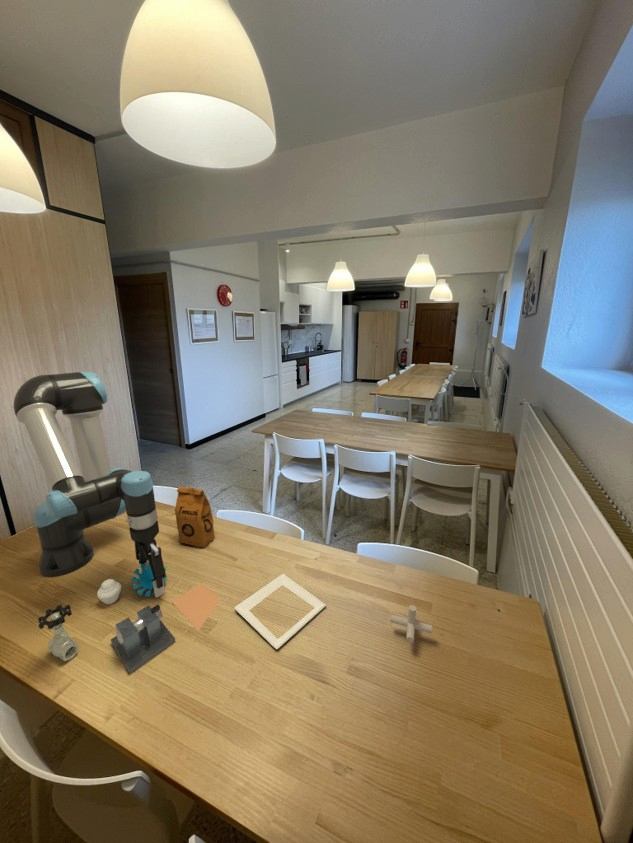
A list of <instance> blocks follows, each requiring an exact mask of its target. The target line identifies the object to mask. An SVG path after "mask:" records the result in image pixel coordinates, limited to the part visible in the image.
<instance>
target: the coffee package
mask: <svg viewBox="0 0 633 843" xmlns="http://www.w3.org/2000/svg"><path fill="white" fill-rule="evenodd" d="M176 492H177V496H176V497H177V498H176V501H175V502H176V503H175V508H174V514H175V521H176V527H177V533H178V543H181V544H185V545H190V546H193V547H199V548H206V547H207V546H208V545H209V544H210V543H212V542H213V541H214V539H215V528H214V518H213V513H212V509H211V508H212V507H211V504H210V503H209V502H210V501H209V500H208V498H207V495H206V494H205V492H204V490H202V489H198V488H194V487H190V486H189V487H188V486H187V487H186V486H178V488H177V490H176Z"/></svg>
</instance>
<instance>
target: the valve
mask: <svg viewBox="0 0 633 843" xmlns="http://www.w3.org/2000/svg"><path fill="white" fill-rule="evenodd" d="M72 614H73V613H72V608H71V604H67V605H65V606H64V607H63V605H62V604H58V605H56V607H55V608H54V609H51V608H49V609H46V610H45V615H41V616H39V617H38V618H37V622H38V629H40V630H43V629H44V628H45V626H47V630H53V633H54V635H53V636H52V638H51V639H50V640H49V641H48V643H47V648H48V651H49V652H51V653H52V654H53V656H54V657H56V658H59V659H61V660H62V661H64V662H67V661H68V660H72V659H73V658H74V657H75V656H76V654H78V652H79V650H80V648H79V644H78V642H76V641H74V639H73V638H72V637H70V636H69V632H68V630H67V629H65V628H64V623H65V622H66V618H65V617H66V616H68V617H71V616H72ZM48 618H50V620H48Z"/></svg>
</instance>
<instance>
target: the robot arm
mask: <svg viewBox="0 0 633 843" xmlns="http://www.w3.org/2000/svg"><path fill="white" fill-rule="evenodd" d="M107 402H108V393H107V389H106V387H105V385H104V383H103V380H102V379H101V378H100V376H99V375H98V374H96V373H94V372H92V371H76V372H68V373H67V372H65V373H55V374H52V373H51V374H41V375H36V376H33V377H31V378H29V379H27V380H26V381H25V382H24V383H23V384H21V386H20V387H19V389H18V390H17V392H16V393H15V396H14V400H13V412H14V414H15V417H16V420H17V421H18V422H20V423H21V424H23V425H24V427H25V429H26V432H27V434H28V436H29V438H30V441H31V443H32V446H33V448H34V450H35V453H36V455H37V457H38V460H39V462H40V464H41V467H42V470H43V472H44V473H45V476H46V478H47V481H48V483H49V486H50V488H51V490H52V491H50V492H47V493H46V495H45V499H46V501H44V502H42V503H41V504H40V505H39V506H37V507H36V508H35V510H34V512H33V519H34V523H33V524H34V526H35V527H36V532H37V536H38V539H39V544H40V547H41V553H40V554H41V555H40V560H39V563H38V564H39V565H38V567H39V571H40V573H41V575H42V576H44V577H47V578H55V577H56V578H57V577H61V576H65V575H69V574H71V573H73V572H76V571H78V570H79V569H82V568H83V567H85V566H86V565H87V564H89V562H90V561H92V560H93V557H94V555H95V552H94V549H93V546H92V545H91V543H90V542H89V540H88V539H87V537H85V535H84V530H86V529H88V528H91V527H94V526H97V525H99V524H101V523H104V522H107V521H109V520H113V519H115V518H116V517H119V516H121V515H124V514H125V512H126V517H127V518H126V519H125V522H127V523H128V527H129V528H128V529H129V535H130V539H131V540H132V541H133V543H134V550H135V559H136V561H138V564H139V567H140V568H139V569H140V572H141V573H142V568H141V564H146V566H145V568H144V569H145V570H147V569H148V566H149V565H150V568H151V571H152V575H153V579H152V580H151V581H152V582H153V587H154V588H153V592H154V593H155V594H154V597H155V598H156V599H157V598H158V597H160V596H162V595H164V594H165V593H166V590H165V586H164V585H165V583H164V582H165V581H163V578H165V577H166V576H167V573H166V571H165V569H164V567H165V565H164V561H163V557H162V548H161V547H160V546H158V547H157V540H156V539H155V538H156V537H157V536H158V535H159V533H160V527H159V521H158V518H159V517H158V512H157V506H156V500H155V499H156V498H155V492H154V483H153V479H152V476H151V473H150V472H148V471H146V470H144V471H143V470H135V471H131V470H130V469H127V468H124V467H116V468H113V469H111V464H110V459H109V455H108V450H107V446H106V441H105V435H104V431H103V426H102V421H101V417H100V414H101V413H102V411H104V408H103V405H105V404H107ZM58 411H61V414H62V416H64V417H66V418H68V419H69V422H70V426H71V430H72V431H71V432H72V435H73V440H74V444H75V448H76V453H77V457H78V461H79V464H78V462H77V461H76V458H75V456H74V454H73V452H72V450H71V447H70V445H69V443H68V441H67V438H66V437H65V434H64V432H63V430H62V428H61V425H60V424H59V422H58V419H57V417H56V415H57V413H58ZM79 465H80V466H79ZM148 564H149V565H148Z"/></svg>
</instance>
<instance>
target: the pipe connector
mask: <svg viewBox="0 0 633 843" xmlns="http://www.w3.org/2000/svg"><path fill="white" fill-rule="evenodd" d="M407 613H408V614H407V618H405V617H401V616H399V615H393V614H391V617H390V623H393V624H395V625H399V626H403V627H406V638H405V640H406V642H407V643H409V644H414V642H415V630H418V631H422V632H425V633H428V634H432V632H433V625H432V624H429V623H424V622H421V621H416V617H417V615H416V614H417V607H416V606H415V605H414V604H411V605H409V606H408V612H407Z"/></svg>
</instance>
